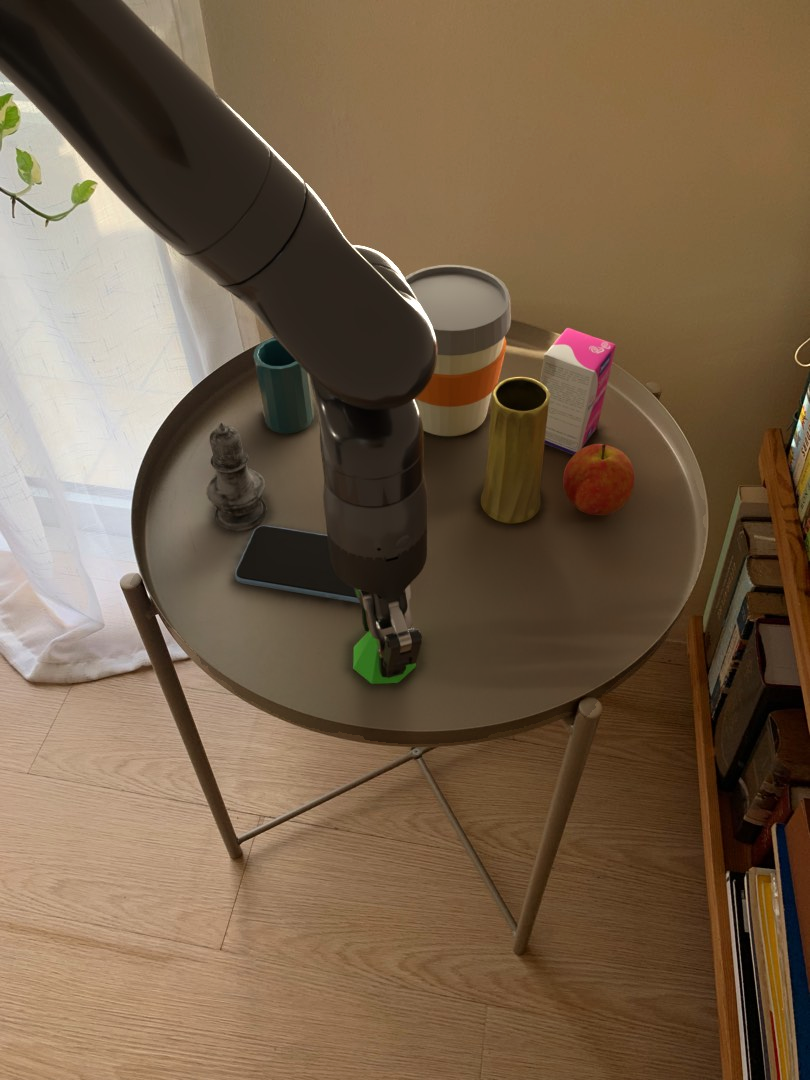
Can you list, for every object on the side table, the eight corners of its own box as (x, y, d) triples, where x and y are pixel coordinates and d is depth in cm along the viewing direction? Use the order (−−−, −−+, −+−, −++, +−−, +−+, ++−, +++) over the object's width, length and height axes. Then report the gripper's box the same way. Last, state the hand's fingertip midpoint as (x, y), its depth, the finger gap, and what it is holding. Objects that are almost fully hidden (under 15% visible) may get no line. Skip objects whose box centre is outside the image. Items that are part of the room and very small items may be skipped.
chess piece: (266, 533, 89) (248, 444, 80) (208, 533, 89) (184, 444, 80) (272, 491, 93) (256, 402, 84) (217, 491, 93) (195, 402, 84)
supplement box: (578, 457, 96) (594, 372, 87) (529, 438, 98) (539, 354, 89) (600, 427, 99) (617, 342, 90) (552, 409, 101) (564, 325, 93)
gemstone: (340, 643, 80) (336, 602, 75) (401, 620, 82) (400, 579, 77) (366, 695, 76) (362, 655, 72) (429, 670, 78) (429, 630, 73)
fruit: (633, 528, 89) (648, 470, 83) (564, 530, 89) (574, 472, 83) (621, 480, 93) (634, 422, 87) (555, 481, 93) (564, 423, 87)
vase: (472, 515, 90) (478, 406, 80) (491, 476, 94) (500, 367, 83) (530, 531, 89) (544, 422, 78) (547, 490, 92) (562, 381, 82)
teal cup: (270, 438, 99) (259, 373, 92) (260, 407, 102) (248, 343, 95) (319, 427, 100) (311, 362, 93) (307, 397, 103) (299, 332, 97)
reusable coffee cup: (433, 363, 107) (435, 251, 96) (523, 401, 102) (535, 287, 91) (371, 419, 100) (364, 305, 89) (463, 462, 95) (469, 347, 84)
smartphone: (256, 522, 89) (401, 544, 86) (257, 528, 89) (401, 550, 87) (230, 578, 84) (384, 603, 82) (232, 583, 85) (384, 609, 82)
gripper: (303, 464, 69) (322, 599, 82) (354, 602, 60) (366, 729, 73) (395, 443, 71) (399, 579, 83) (458, 574, 61) (452, 703, 74)
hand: (384, 648), depth 78 cm, fingers closed on gemstone, 4 cm apart
